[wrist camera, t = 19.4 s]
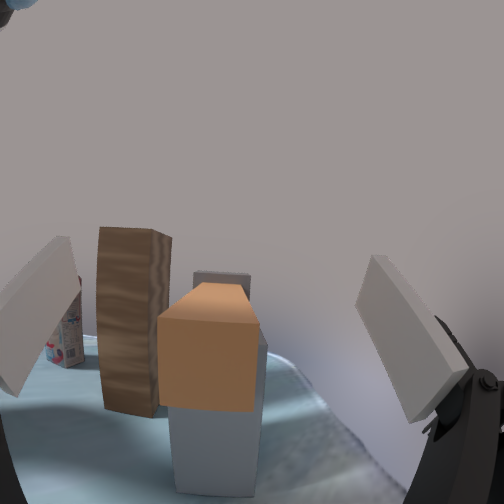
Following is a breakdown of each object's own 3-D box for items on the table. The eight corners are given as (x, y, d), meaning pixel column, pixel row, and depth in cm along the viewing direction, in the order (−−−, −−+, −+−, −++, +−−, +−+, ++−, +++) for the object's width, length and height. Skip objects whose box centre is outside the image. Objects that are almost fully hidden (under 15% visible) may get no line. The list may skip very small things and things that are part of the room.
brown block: (276, 412, 11) (286, 299, 11) (138, 401, 10) (133, 289, 10) (245, 313, 35) (247, 273, 35) (196, 311, 34) (198, 270, 34)
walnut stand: (152, 418, 35) (151, 228, 36) (104, 408, 34) (99, 226, 35) (169, 383, 49) (172, 237, 50) (130, 377, 48) (131, 235, 49)
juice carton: (65, 368, 45) (60, 262, 46) (46, 359, 46) (42, 259, 47) (84, 361, 51) (82, 262, 52) (66, 353, 53) (63, 260, 53)
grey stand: (254, 496, 21) (267, 344, 21) (176, 492, 20) (165, 338, 21) (246, 435, 34) (253, 314, 34) (189, 431, 33) (188, 310, 34)
